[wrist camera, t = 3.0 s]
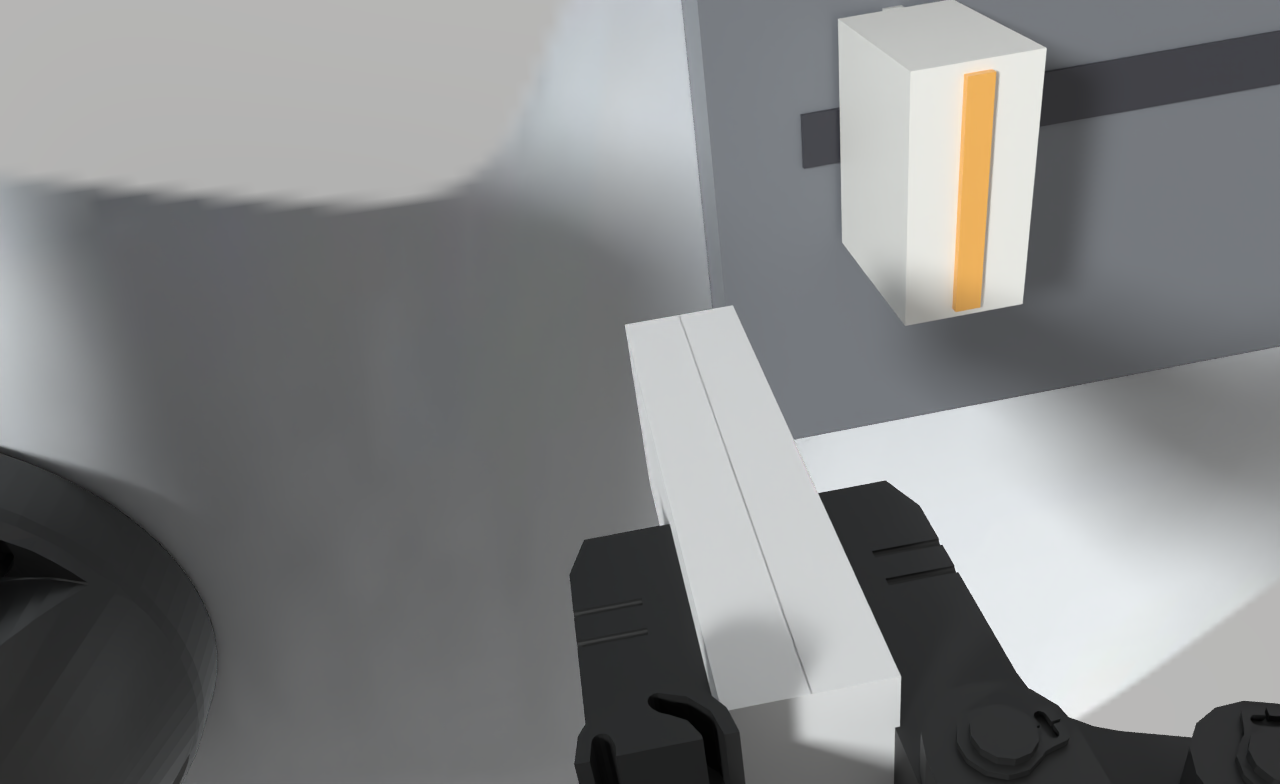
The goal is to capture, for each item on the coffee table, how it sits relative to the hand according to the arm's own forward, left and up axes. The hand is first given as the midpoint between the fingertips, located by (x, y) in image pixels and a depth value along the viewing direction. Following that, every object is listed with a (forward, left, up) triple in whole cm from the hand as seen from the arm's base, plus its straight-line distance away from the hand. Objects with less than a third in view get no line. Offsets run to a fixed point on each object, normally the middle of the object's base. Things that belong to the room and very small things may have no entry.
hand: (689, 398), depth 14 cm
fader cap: (+6, 0, -9) cm, 11 cm away
